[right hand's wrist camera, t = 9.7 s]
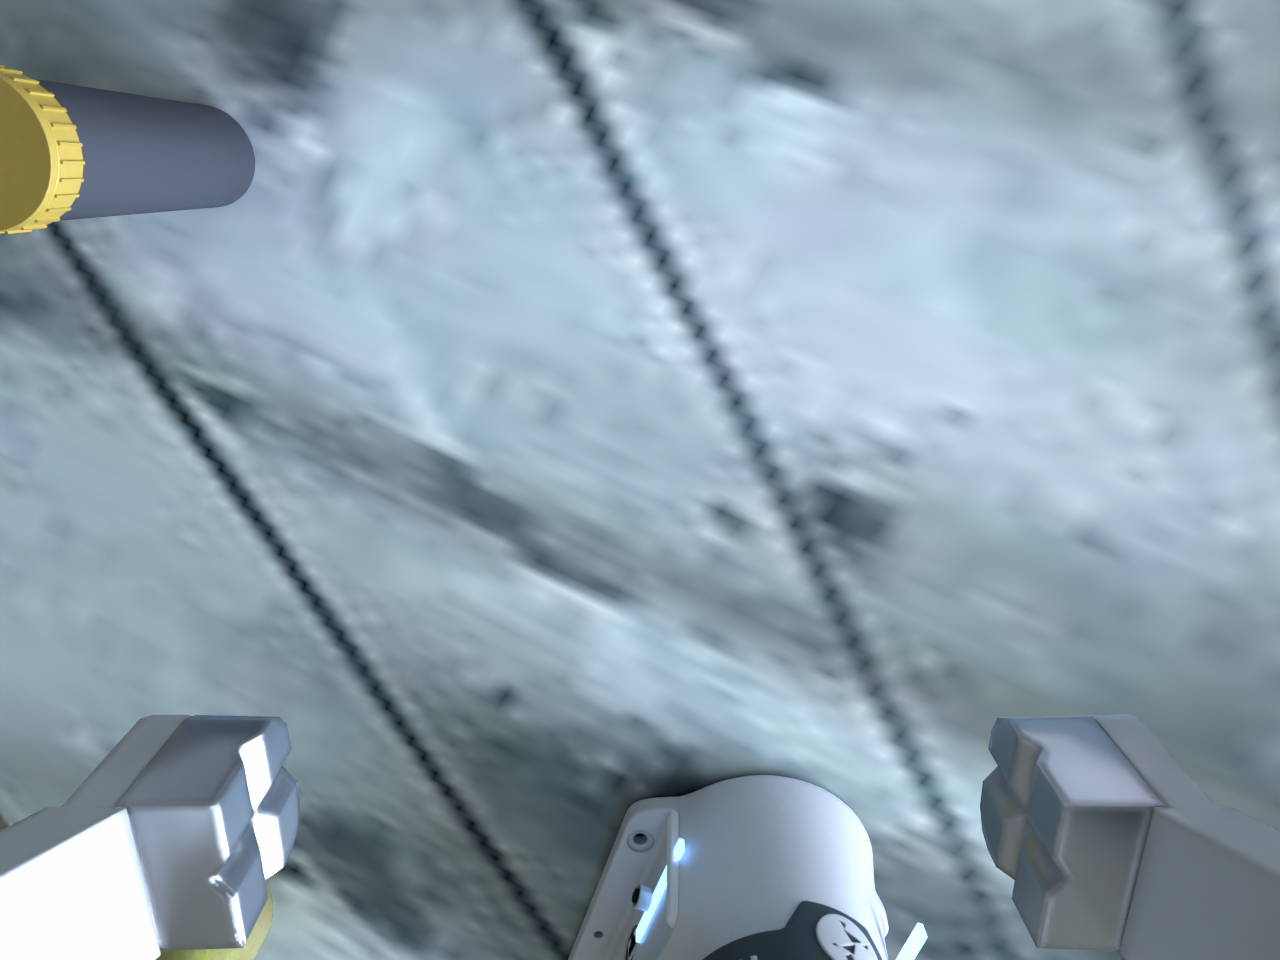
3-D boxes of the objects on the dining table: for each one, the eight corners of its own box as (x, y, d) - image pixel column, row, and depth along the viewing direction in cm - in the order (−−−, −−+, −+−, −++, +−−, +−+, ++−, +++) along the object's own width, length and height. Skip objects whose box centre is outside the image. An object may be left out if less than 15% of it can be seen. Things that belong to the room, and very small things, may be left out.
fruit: (290, 837, 56) (203, 1005, 45) (290, 931, 59) (207, 1113, 47) (181, 826, 56) (65, 993, 45) (186, 921, 58) (77, 1102, 47)
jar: (176, 214, 44) (-61, 237, 29) (143, 114, 43) (-124, 84, 28) (267, 198, 44) (75, 211, 29) (237, 96, 43) (19, 55, 28)
